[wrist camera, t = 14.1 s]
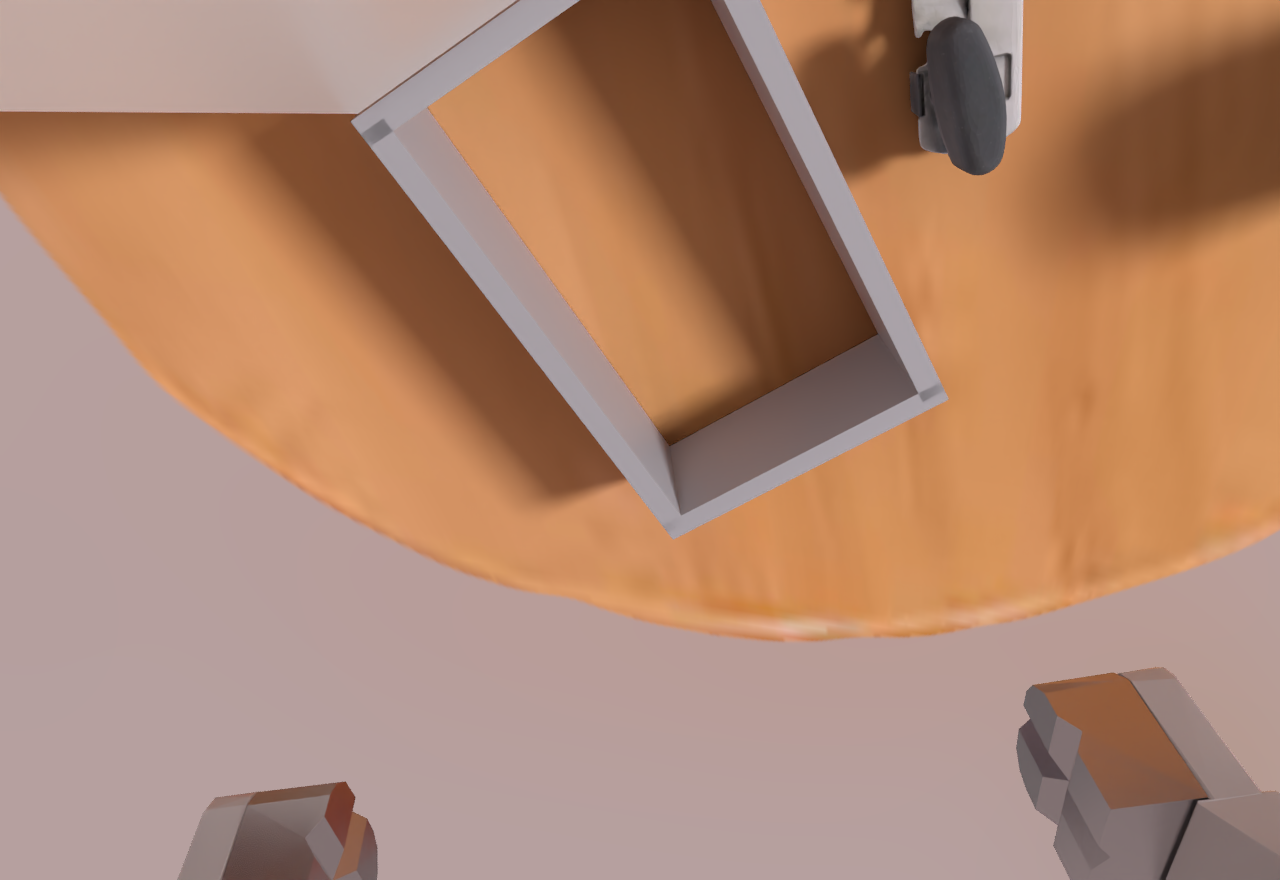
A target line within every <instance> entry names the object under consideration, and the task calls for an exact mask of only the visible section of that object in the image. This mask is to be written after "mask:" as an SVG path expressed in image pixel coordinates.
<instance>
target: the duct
mask: <svg viewBox="0 0 1280 880" xmlns="http://www.w3.org/2000/svg"><path fill="white" fill-rule="evenodd" d="M578 1H579V0H516V1H515V2H513V3H512V4H511V5H509V6H508V7H506V8H505V9H504V10H502V11H501V12H499V13H498V14H497V15H495V16H494V17H492V18H491V19H490V20H488V21H487V22H485V23H484V24H483V25H481V26H480V27H478V28H477V29H476V30H474V31H473V32H471V33H470V34H469V35H467V36H466V37H464V38H463V39H462V40H460V41H459V42H457V43H456V44H455V45H453V46H452V47H450V48H449V49H448V50H446V51H445V52H443V53H442V54H441V55H439V56H438V57H436V58H435V59H434V60H432V61H431V62H429V63H428V64H427V65H425V66H424V67H422V68H421V69H420V70H418V71H417V72H415V73H414V74H413V75H411V76H410V77H408V78H407V79H406V80H404V81H403V82H401V83H400V84H399V85H397V86H396V87H395V88H393V89H392V90H390V91H389V92H388V93H386V94H385V95H383V96H382V97H381V98H379V99H378V100H376V101H375V102H374V103H372V104H371V105H369V106H368V107H367V108H365V109H364V110H362V111H361V112H360V113H358V114H357V115H356V116H355V117H354V118H353V119H352V120H351V121H350V122H351V123H352V124H353V125H354V127H355V128H356V129H357V131H358V132H359V133H360V135H361V136H362V137H363V138H364V140H365V141H366V142H367V144H368V145H369V146H370V147H371V149H372V150H373V151H374V153H375V154H376V155H377V157H378V158H379V159H380V160H381V162H382V163H383V164H384V166H385V167H386V168H387V169H388V171H389V172H390V173H391V175H392V176H393V177H394V179H395V180H396V181H397V182H398V184H399V185H400V186H401V188H402V189H403V190H404V192H405V193H406V194H407V195H408V197H409V198H410V199H411V201H412V202H413V203H414V204H415V206H416V207H417V208H418V210H419V211H420V212H421V214H422V215H423V216H424V217H425V219H426V220H427V221H428V223H429V224H430V225H431V227H432V228H433V229H434V230H435V232H436V233H437V234H438V236H439V237H440V238H441V239H442V241H443V242H444V243H445V245H446V246H447V247H448V249H449V250H450V251H451V252H452V254H453V255H454V256H455V258H456V259H457V260H458V262H459V263H460V264H461V265H462V267H463V268H464V269H465V271H466V272H467V273H468V274H469V276H470V277H471V278H472V280H473V281H474V282H475V284H476V285H477V286H478V287H479V289H480V290H481V291H482V293H483V294H484V295H485V296H486V298H487V299H488V300H489V302H490V303H491V304H492V306H493V307H494V308H495V309H496V311H497V312H498V313H499V315H500V316H501V317H502V319H503V320H504V321H505V322H506V324H507V325H508V326H509V328H510V329H511V330H512V331H513V333H514V334H515V335H516V337H517V338H518V339H519V341H520V342H521V343H522V344H523V346H524V347H525V348H526V350H527V351H528V352H529V354H530V355H531V356H532V357H533V359H534V360H535V361H536V363H537V364H538V365H539V366H540V368H541V369H542V370H543V372H544V373H545V374H546V376H547V377H548V378H549V379H550V381H551V382H552V383H553V385H554V386H555V387H556V388H557V390H558V391H559V392H560V394H561V395H562V396H563V398H564V399H565V400H566V401H567V403H568V404H569V405H570V407H571V408H572V409H573V411H574V412H575V413H576V414H577V416H578V417H579V418H580V420H581V421H582V422H583V423H584V425H585V426H586V427H587V429H588V430H589V431H590V433H591V434H592V435H593V436H594V438H595V439H596V440H597V442H598V443H599V444H600V446H601V447H602V448H603V449H604V451H605V452H606V453H607V455H608V456H609V457H610V458H611V460H612V461H613V462H614V464H615V465H616V466H617V468H618V469H619V470H620V471H621V473H622V474H623V475H624V477H625V478H626V479H627V480H628V482H629V483H630V484H631V486H632V487H633V488H634V490H635V491H636V492H637V493H638V495H639V496H640V497H641V499H642V500H643V501H644V503H645V504H646V505H647V506H648V508H649V509H650V510H651V512H652V513H653V514H654V515H655V517H656V518H657V519H658V521H659V522H660V523H661V525H662V526H663V527H664V528H665V530H666V531H667V532H668V534H669V535H670V536H671V538H672V539H675V538H677V537H679V536H681V535H683V534H685V533H687V532H689V531H691V530H693V529H695V528H697V527H699V526H701V525H703V524H705V523H707V522H709V521H711V520H712V519H714V518H716V517H718V516H720V515H722V514H724V513H726V512H728V511H730V510H732V509H734V508H736V507H738V506H740V505H742V504H744V503H746V502H748V501H750V500H752V499H754V498H756V497H758V496H760V495H762V494H764V493H766V492H768V491H770V490H772V489H774V488H775V487H777V486H779V485H781V484H783V483H785V482H787V481H789V480H791V479H793V478H795V477H797V476H799V475H801V474H803V473H805V472H807V471H809V470H811V469H813V468H815V467H817V466H819V465H821V464H823V463H825V462H827V461H829V460H831V459H833V458H835V457H837V456H838V455H840V454H842V453H844V452H846V451H848V450H850V449H852V448H854V447H856V446H858V445H860V444H862V443H864V442H866V441H868V440H870V439H872V438H874V437H876V436H878V435H880V434H882V433H884V432H886V431H888V430H890V429H892V428H894V427H896V426H898V425H899V424H901V423H903V422H905V421H907V420H909V419H911V418H913V417H915V416H917V415H919V414H921V413H923V412H925V411H927V410H929V409H931V408H933V407H935V406H937V405H939V404H941V403H943V402H945V401H947V400H949V399H948V397H947V395H946V393H945V391H944V388H943V386H942V384H941V382H940V380H939V378H938V376H937V374H936V372H935V369H934V367H933V365H932V363H931V361H930V359H929V357H928V355H927V352H926V350H925V348H924V346H923V344H922V342H921V340H920V338H919V336H918V333H917V331H916V329H915V327H914V325H913V323H912V321H911V319H910V317H909V314H908V312H907V310H906V308H905V306H904V304H903V302H902V300H901V298H900V295H899V293H898V291H897V289H896V287H895V285H894V283H893V281H892V279H891V276H890V274H889V272H888V270H887V268H886V266H885V264H884V262H883V259H882V257H881V255H880V253H879V251H878V249H877V247H876V245H875V243H874V240H873V238H872V236H871V234H870V232H869V230H868V228H867V226H866V224H865V221H864V219H863V217H862V215H861V213H860V211H859V209H858V207H857V205H856V202H855V200H854V198H853V196H852V194H851V192H850V190H849V188H848V186H847V183H846V181H845V179H844V177H843V175H842V173H841V171H840V169H839V166H838V164H837V162H836V160H835V158H834V156H833V154H832V152H831V150H830V147H829V145H828V143H827V141H826V139H825V137H824V135H823V133H822V131H821V128H820V126H819V124H818V122H817V120H816V118H815V116H814V114H813V112H812V109H811V107H810V105H809V103H808V101H807V99H806V97H805V95H804V93H803V90H802V88H801V86H800V84H799V82H798V80H797V78H796V76H795V73H794V71H793V69H792V67H791V65H790V63H789V61H788V59H787V57H786V54H785V52H784V50H783V48H782V46H781V44H780V42H779V40H778V38H777V35H776V33H775V31H774V29H773V27H772V25H771V23H770V21H769V19H768V16H767V14H766V12H765V10H764V8H763V6H762V4H761V2H760V0H711V2H712V4H713V6H714V8H715V10H716V12H717V14H718V16H719V18H720V20H721V22H722V24H723V26H724V28H725V30H726V32H727V34H728V36H729V38H730V40H731V42H732V44H733V46H734V48H735V50H736V52H737V54H738V56H739V58H740V60H741V62H742V64H743V66H744V68H745V70H746V72H747V74H748V76H749V78H750V80H751V82H752V84H753V86H754V88H755V90H756V92H757V94H758V96H759V98H760V100H761V102H762V104H763V106H764V108H765V110H766V112H767V114H768V116H769V118H770V120H771V121H772V123H773V125H774V127H775V129H776V131H777V133H778V135H779V137H780V139H781V141H782V143H783V145H784V147H785V149H786V151H787V153H788V155H789V157H790V159H791V161H792V163H793V165H794V167H795V169H796V171H797V173H798V175H799V177H800V179H801V181H802V183H803V185H804V187H805V189H806V191H807V193H808V195H809V197H810V199H811V201H812V203H813V205H814V207H815V209H816V211H817V213H818V215H819V217H820V219H821V221H822V223H823V225H824V227H825V229H826V231H827V233H828V235H829V237H830V239H831V241H832V243H833V245H834V247H835V249H836V251H837V253H838V255H839V257H840V259H841V261H842V263H843V265H844V267H845V269H846V271H847V273H848V275H849V277H850V279H851V281H852V283H853V285H854V287H855V289H856V291H857V293H858V295H859V297H860V299H861V301H862V303H863V305H864V307H865V309H866V311H867V313H868V315H869V317H870V319H871V321H872V323H873V325H874V327H875V329H876V331H877V333H878V334H877V335H875V336H874V337H872V338H870V339H868V340H866V341H864V342H862V343H861V344H859V345H857V346H855V347H853V348H851V349H849V350H848V351H846V352H844V353H842V354H840V355H838V356H836V357H835V358H833V359H831V360H829V361H827V362H825V363H823V364H822V365H820V366H818V367H816V368H814V369H812V370H810V371H809V372H807V373H805V374H803V375H801V376H799V377H797V378H796V379H794V380H792V381H790V382H788V383H786V384H784V385H783V386H781V387H779V388H777V389H775V390H773V391H771V392H770V393H768V394H766V395H764V396H762V397H760V398H758V399H757V400H755V401H753V402H751V403H749V404H747V405H745V406H744V407H742V408H740V409H738V410H736V411H734V412H732V413H731V414H729V415H727V416H725V417H723V418H721V419H719V420H718V421H716V422H714V423H712V424H710V425H708V426H706V427H705V428H703V429H701V430H699V431H697V432H695V433H693V434H692V435H690V436H688V437H686V438H684V439H682V440H680V441H678V442H677V443H675V444H673V445H671V446H669V445H668V443H667V442H666V441H665V439H664V438H663V436H662V435H661V434H660V432H659V431H658V429H657V428H656V427H655V425H654V424H653V422H652V421H651V420H650V418H649V417H648V415H647V414H646V413H645V411H644V410H643V409H642V407H641V406H640V404H639V403H638V402H637V400H636V399H635V397H634V396H633V395H632V393H631V392H630V390H629V389H628V388H627V386H626V385H625V383H624V382H623V381H622V379H621V378H620V376H619V375H618V374H617V372H616V371H615V369H614V368H613V367H612V365H611V364H610V362H609V361H608V360H607V358H606V357H605V355H604V354H603V353H602V351H601V350H600V348H599V347H598V346H597V344H596V343H595V342H594V340H593V339H592V337H591V336H590V335H589V333H588V332H587V330H586V329H585V328H584V326H583V325H582V323H581V322H580V321H579V319H578V318H577V316H576V315H575V314H574V312H573V311H572V309H571V308H570V307H569V305H568V304H567V302H566V301H565V300H564V298H563V297H562V295H561V294H560V293H559V291H558V290H557V288H556V287H555V286H554V284H553V283H552V281H551V280H550V279H549V277H548V276H547V275H546V273H545V272H544V270H543V269H542V268H541V266H540V265H539V263H538V262H537V261H536V259H535V258H534V256H533V255H532V254H531V252H530V251H529V249H528V248H527V247H526V245H525V244H524V242H523V241H522V240H521V238H520V237H519V235H518V234H517V233H516V231H515V230H514V228H513V227H512V226H511V224H510V223H509V221H508V220H507V219H506V217H505V216H504V214H503V213H502V212H501V210H500V209H499V208H498V206H497V205H496V203H495V202H494V201H493V199H492V198H491V196H490V195H489V194H488V192H487V191H486V189H485V188H484V187H483V185H482V184H481V182H480V181H479V180H478V178H477V177H476V175H475V174H474V173H473V171H472V170H471V168H470V167H469V166H468V164H467V163H466V161H465V160H464V159H463V157H462V156H461V154H460V153H459V152H458V150H457V149H456V147H455V146H454V145H453V143H452V142H451V141H450V139H449V138H448V136H447V135H446V134H445V132H444V131H443V129H442V128H441V127H440V125H439V124H438V122H437V121H436V120H435V118H434V117H433V115H432V114H431V113H430V111H429V110H428V108H427V107H428V106H429V105H431V104H432V103H434V102H435V101H437V100H438V99H439V98H441V97H442V96H444V95H445V94H447V93H448V92H449V91H451V90H452V89H454V88H455V87H457V86H458V85H459V84H461V83H462V82H464V81H465V80H467V79H468V78H469V77H471V76H472V75H474V74H475V73H477V72H478V71H479V70H481V69H482V68H484V67H485V66H487V65H488V64H489V63H491V62H492V61H494V60H495V59H497V58H498V57H499V56H501V55H502V54H504V53H505V52H507V51H508V50H509V49H511V48H512V47H514V46H515V45H517V44H518V43H519V42H521V41H522V40H524V39H525V38H527V37H528V36H529V35H531V34H532V33H534V32H535V31H537V30H538V29H539V28H541V27H542V26H544V25H545V24H547V23H548V22H549V21H551V20H552V19H554V18H555V17H557V16H558V15H559V14H561V13H562V12H564V11H565V10H567V9H568V8H569V7H571V6H572V5H574V4H575V3H577V2H578Z"/></svg>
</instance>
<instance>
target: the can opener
mask: <svg viewBox="0 0 1280 880" xmlns="http://www.w3.org/2000/svg"><path fill="white" fill-rule="evenodd" d="M912 14H913V25H914V33H915V36H916V38H920V37H921V36H922V33H923V32H924V31H931V32H930V35H929V37H928V40H927V48H926V54H927V63H926V64H925V65H923V66H921V67H919V68H918V69H917V71H916V72H912V71H911V72H910V73H909V74H910V100H911V111H912V112H913V113H914V114H916V115H917V116H918V117H919V119H918V131H919V142H920V145H921V147H922V148H923V149H924V150H927V151H930V152H935V153H942V154H948V155H949V157H950V159H951V161H952V163H953V164H954V165H955V166H956V167H957V168H959V169H961V170H963V171H965V172H967V173H969V174H972V175H984V174H986V173H989V172H990V171H992V170H994V169H995V168H996V167H997V166H998V165H999V163H1000V162H1001V159H1002V157H1003V153H1004V149H1005V141H1006V137H1007V136H1008V135H1010V134H1011V133H1012V132H1013V131H1014V130H1015V129H1016V128H1017V127H1018V125H1019V124H1020V121H1021V96H1022V38H1023V0H912Z"/></svg>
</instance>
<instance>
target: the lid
mask: <svg viewBox="0 0 1280 880" xmlns="http://www.w3.org/2000/svg"><path fill="white" fill-rule="evenodd" d="M515 1H516V0H0V111H17V112H166V113H315V114H358V113H360V112H361V111H362V110H364V109H365V108H367V107H368V106H369V105H371V104H372V103H374V102H375V101H376V100H378V99H379V98H381V97H382V96H383V95H385V94H386V93H388V92H389V91H390V90H392V89H393V88H395V87H396V86H397V85H399V84H400V83H401V82H403V81H404V80H406V79H407V78H408V77H410V76H411V75H413V74H414V73H415V72H417V71H418V70H420V69H421V68H422V67H424V66H425V65H427V64H428V63H429V62H431V61H432V60H434V59H435V58H436V57H438V56H439V55H441V54H442V53H443V52H445V51H446V50H448V49H449V48H450V47H452V46H453V45H455V44H456V43H457V42H459V41H460V40H462V39H463V38H464V37H466V36H467V35H469V34H470V33H471V32H473V31H474V30H476V29H477V28H478V27H480V26H481V25H483V24H484V23H485V22H487V21H488V20H490V19H491V18H492V17H494V16H495V15H497V14H498V13H499V12H501V11H502V10H504V9H505V8H506V7H508V6H509V5H511V4H512V3H513V2H515Z"/></svg>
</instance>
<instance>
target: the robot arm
mask: <svg viewBox="0 0 1280 880" xmlns="http://www.w3.org/2000/svg"><path fill="white" fill-rule="evenodd" d="M1024 707H1025V709H1026V711H1027V713H1028V715H1029V717H1030V720H1029V721H1027V722H1026V723H1025V724H1024V725H1023V726H1022V727H1021V728H1020V729H1019V732H1018V740H1017V747H1016V749H1017V755H1018V762H1019V768H1020V772H1021V775H1022V778H1023V781H1024V784H1025V787H1026V790H1027V792H1028V794H1029V796H1030V798H1031V800H1032V802H1033V804H1034V807H1035V809H1036V810H1038V811H1039V812H1040V813H1042V814H1043V815H1044V816H1046V817H1047V818H1048V819H1050V820H1051V821H1053V822H1054V823H1055V824H1057V825H1058V827H1057V832H1056V836H1055V841H1054V845H1053V846H1054V848H1055V850H1056V852H1057V854H1058V856H1059V858H1060V860H1061V862H1062V864H1063V866H1064V868H1065V870H1066V872H1067V874H1068V876H1069V878H1070V880H1280V793H1279V792H1277V791H1266V792H1261V790H1260V789H1259V788H1258V786H1257V785H1256V784H1255V783H1254V781H1253V780H1252V778H1251V777H1250V776H1249V774H1248V773H1247V772H1246V770H1245V769H1244V768H1243V766H1242V765H1241V764H1240V762H1239V761H1238V760H1237V758H1236V757H1235V756H1234V754H1233V753H1232V752H1231V750H1230V749H1229V747H1228V746H1227V745H1226V744H1225V742H1224V741H1223V740H1222V738H1221V737H1220V736H1219V734H1218V733H1217V732H1216V730H1215V729H1214V727H1213V726H1212V725H1211V724H1210V722H1209V721H1208V719H1207V718H1206V717H1205V715H1204V714H1203V713H1202V711H1201V710H1200V709H1199V707H1198V706H1197V705H1196V703H1195V702H1194V701H1193V699H1192V698H1191V697H1190V695H1189V694H1188V693H1187V691H1186V690H1185V689H1184V687H1183V686H1182V685H1181V683H1180V682H1179V681H1178V679H1177V678H1176V677H1175V675H1174V674H1172V673H1171V672H1169V671H1168V670H1166V669H1165V668H1156V667H1155V668H1149V669H1143V670H1137V671H1131V672H1124V673H1118V674H1115V673H1107V674H1101V675H1095V676H1088V677H1082V678H1075V679H1069V680H1062V681H1056V682H1049V683H1043V684H1037V685H1032V686H1031V687H1030V688H1029V689H1028V690H1027V691H1026V696H1025V701H1024ZM354 802H355V796H354V794H353V792H352V791H351V789H350V788H349V786H348V785H347V783H346V782H337V783H329V784H321V785H313V786H305V787H297V788H288V789H280V790H272V791H264V792H253V793H246V794H238V795H231V796H224V797H217V798H215V799H214V800H213V801H212V803H211V804H210V805H209V806H208V807H207V809H206V810H205V811H204V813H203V815H202V818H201V820H200V823H199V825H198V828H197V831H196V833H195V836H194V838H193V841H192V843H191V846H190V849H189V851H188V854H187V856H186V859H185V862H184V864H183V867H182V869H181V872H180V874H179V877H178V879H177V880H377V870H378V869H377V844H376V840H375V836H374V832H373V829H372V827H371V825H370V823H369V821H368V819H367V818H365V817H363V816H360V815H359V814H356V813H354V812H352V811H353V806H354Z"/></svg>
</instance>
